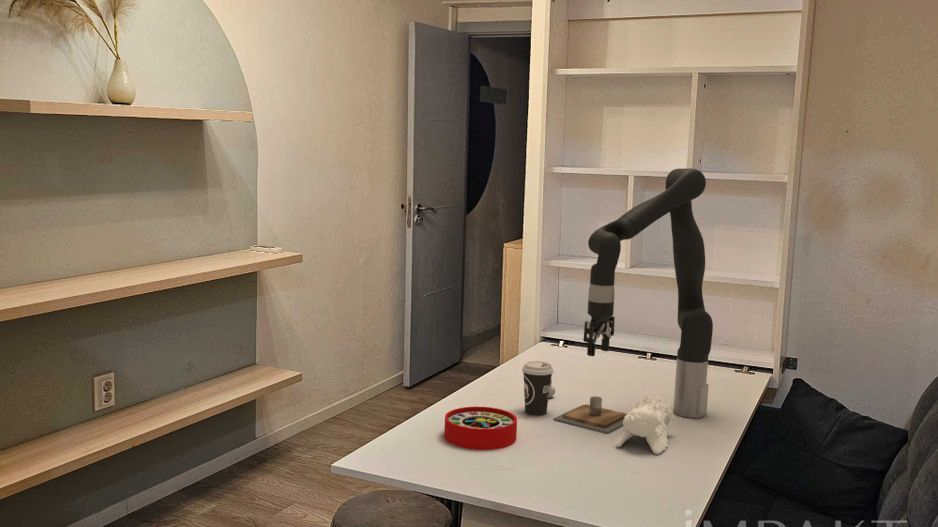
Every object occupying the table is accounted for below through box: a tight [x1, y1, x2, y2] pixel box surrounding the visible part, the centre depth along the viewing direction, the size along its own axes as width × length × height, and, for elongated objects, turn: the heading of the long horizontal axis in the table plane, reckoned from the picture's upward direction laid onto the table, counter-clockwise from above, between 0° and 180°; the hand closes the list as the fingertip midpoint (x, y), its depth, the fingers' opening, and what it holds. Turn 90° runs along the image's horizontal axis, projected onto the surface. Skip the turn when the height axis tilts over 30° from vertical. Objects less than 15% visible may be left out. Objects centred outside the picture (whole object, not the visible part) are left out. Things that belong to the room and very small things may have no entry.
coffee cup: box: [521, 360, 554, 417], centre depth 263 cm, size 10×10×15 cm
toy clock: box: [443, 406, 518, 451], centre depth 240 cm, size 20×6×20 cm
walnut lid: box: [563, 395, 628, 429], centre depth 258 cm, size 14×14×6 cm
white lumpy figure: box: [615, 394, 675, 455], centre depth 240 cm, size 13×12×20 cm
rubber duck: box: [548, 379, 556, 399], centre depth 280 cm, size 5×7×8 cm
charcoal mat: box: [552, 404, 624, 435], centre depth 259 cm, size 18×18×1 cm
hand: (598, 353), depth 256 cm, fingers open, 8 cm apart
